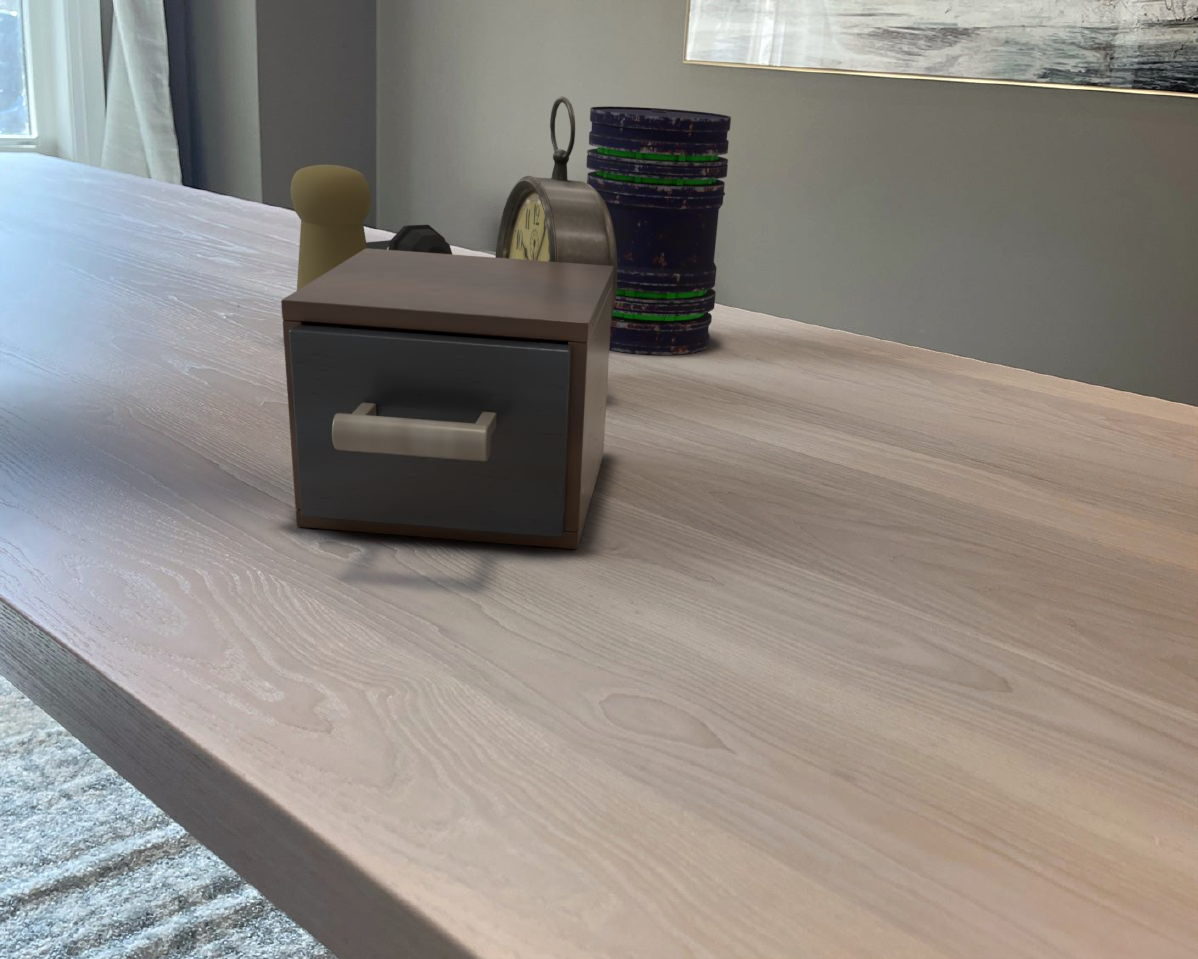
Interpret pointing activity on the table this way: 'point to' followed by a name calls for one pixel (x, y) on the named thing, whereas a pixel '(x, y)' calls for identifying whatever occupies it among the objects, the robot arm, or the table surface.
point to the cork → (329, 217)
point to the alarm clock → (558, 216)
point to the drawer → (432, 428)
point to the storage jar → (661, 221)
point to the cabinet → (482, 307)
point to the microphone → (414, 241)
